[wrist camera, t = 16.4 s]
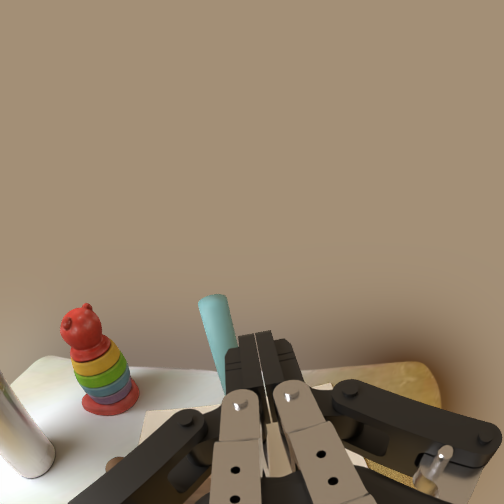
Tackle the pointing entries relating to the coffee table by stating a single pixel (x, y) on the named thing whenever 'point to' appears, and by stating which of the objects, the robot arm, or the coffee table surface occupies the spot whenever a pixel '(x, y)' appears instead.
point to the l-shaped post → (218, 330)
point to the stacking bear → (98, 364)
